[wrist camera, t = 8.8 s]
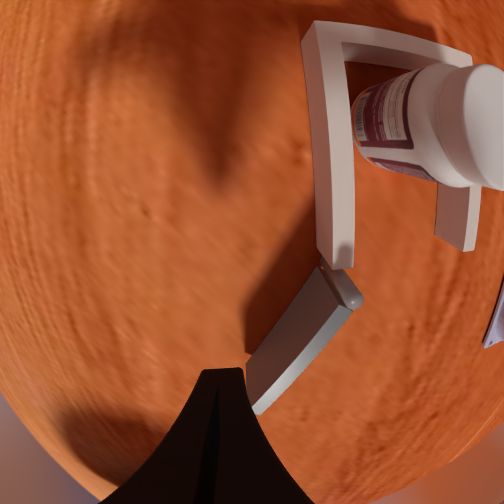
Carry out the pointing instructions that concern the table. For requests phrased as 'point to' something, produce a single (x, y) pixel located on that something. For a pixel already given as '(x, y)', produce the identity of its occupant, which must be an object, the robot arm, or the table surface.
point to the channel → (340, 131)
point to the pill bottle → (435, 125)
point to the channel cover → (300, 334)
